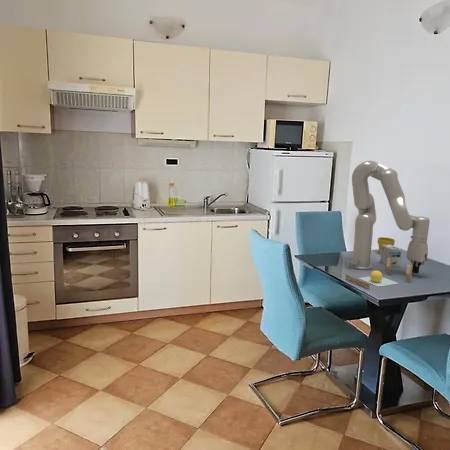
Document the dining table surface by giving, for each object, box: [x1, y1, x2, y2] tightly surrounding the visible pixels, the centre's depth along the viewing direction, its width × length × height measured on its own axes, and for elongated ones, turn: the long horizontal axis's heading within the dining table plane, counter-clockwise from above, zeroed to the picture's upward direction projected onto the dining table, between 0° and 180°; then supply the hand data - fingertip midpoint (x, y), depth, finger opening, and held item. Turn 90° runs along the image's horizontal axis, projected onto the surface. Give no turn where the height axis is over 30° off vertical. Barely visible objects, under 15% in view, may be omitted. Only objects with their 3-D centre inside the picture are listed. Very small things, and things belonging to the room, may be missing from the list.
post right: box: [404, 263, 413, 284], centre depth 213 cm, size 3×3×9 cm
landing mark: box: [358, 275, 399, 288], centre depth 214 cm, size 14×14×1 cm
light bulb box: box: [379, 245, 403, 268], centre depth 245 cm, size 11×7×11 cm, turn 13°
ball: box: [369, 270, 383, 282], centre depth 211 cm, size 6×6×6 cm
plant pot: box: [377, 236, 396, 255], centre depth 270 cm, size 10×10×10 cm
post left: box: [384, 258, 392, 276], centre depth 225 cm, size 3×3×9 cm
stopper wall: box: [345, 274, 371, 290], centre depth 207 cm, size 1×16×2 cm, turn 26°
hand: (415, 272), depth 225 cm, fingers closed
